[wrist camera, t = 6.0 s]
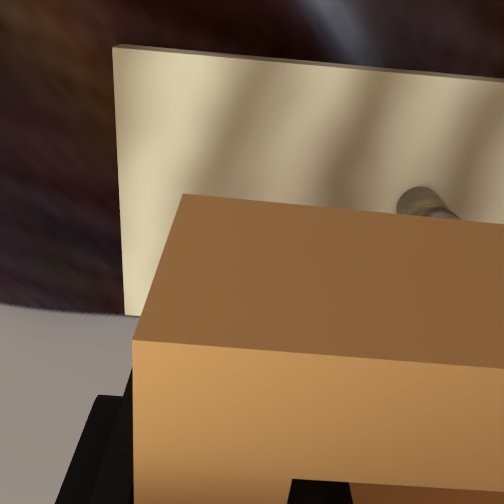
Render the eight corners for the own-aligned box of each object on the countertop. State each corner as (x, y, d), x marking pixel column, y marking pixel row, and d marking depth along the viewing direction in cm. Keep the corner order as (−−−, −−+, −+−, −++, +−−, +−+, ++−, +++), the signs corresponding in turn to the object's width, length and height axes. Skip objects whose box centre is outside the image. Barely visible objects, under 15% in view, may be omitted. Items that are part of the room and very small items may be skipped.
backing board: (598, 87, 26) (623, 93, 25) (503, 323, 34) (516, 341, 32) (122, 44, 25) (112, 47, 23) (131, 297, 33) (125, 314, 31)
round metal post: (443, 188, 27) (477, 220, 23) (432, 226, 28) (462, 264, 24) (401, 184, 27) (428, 216, 23) (392, 223, 28) (415, 260, 24)
